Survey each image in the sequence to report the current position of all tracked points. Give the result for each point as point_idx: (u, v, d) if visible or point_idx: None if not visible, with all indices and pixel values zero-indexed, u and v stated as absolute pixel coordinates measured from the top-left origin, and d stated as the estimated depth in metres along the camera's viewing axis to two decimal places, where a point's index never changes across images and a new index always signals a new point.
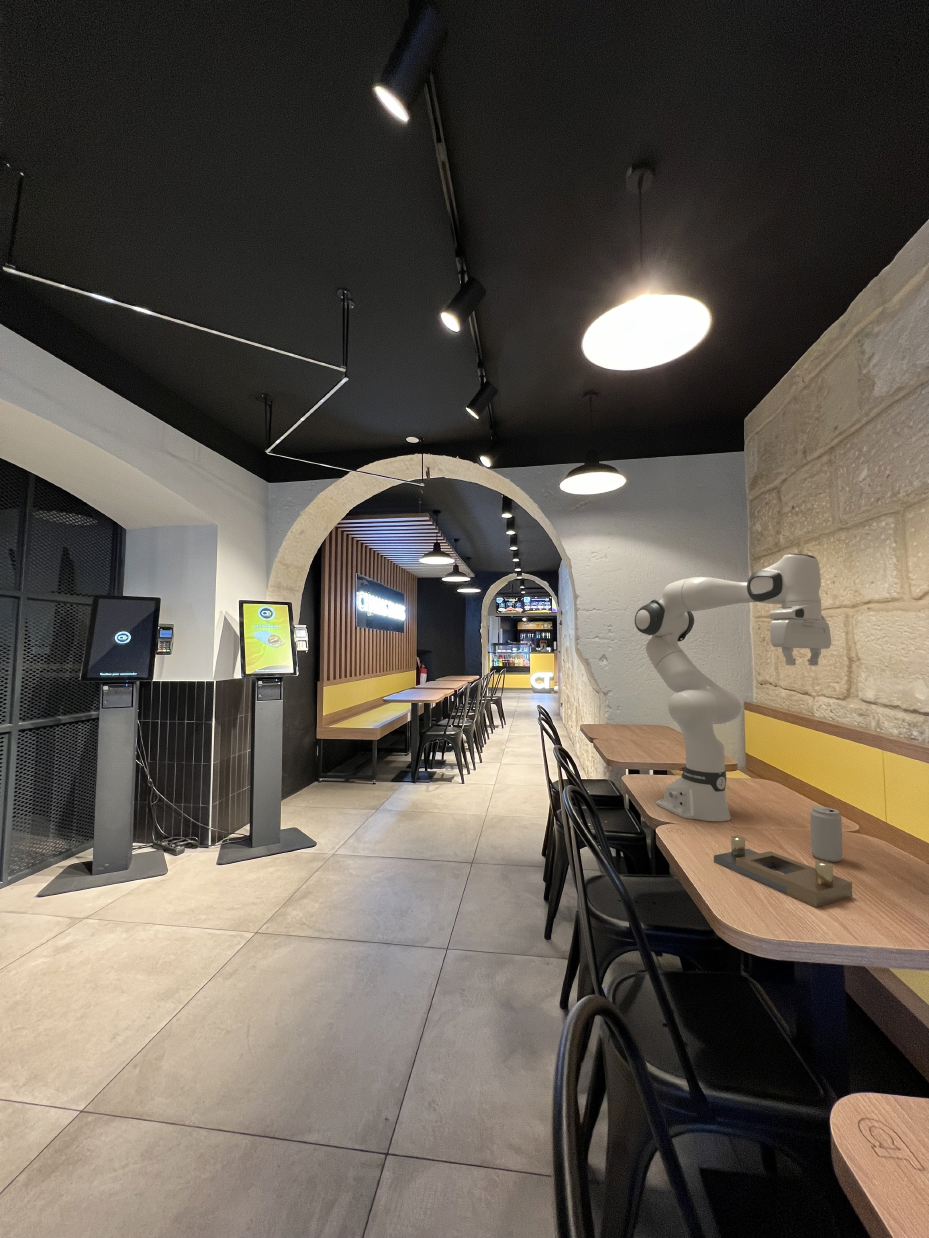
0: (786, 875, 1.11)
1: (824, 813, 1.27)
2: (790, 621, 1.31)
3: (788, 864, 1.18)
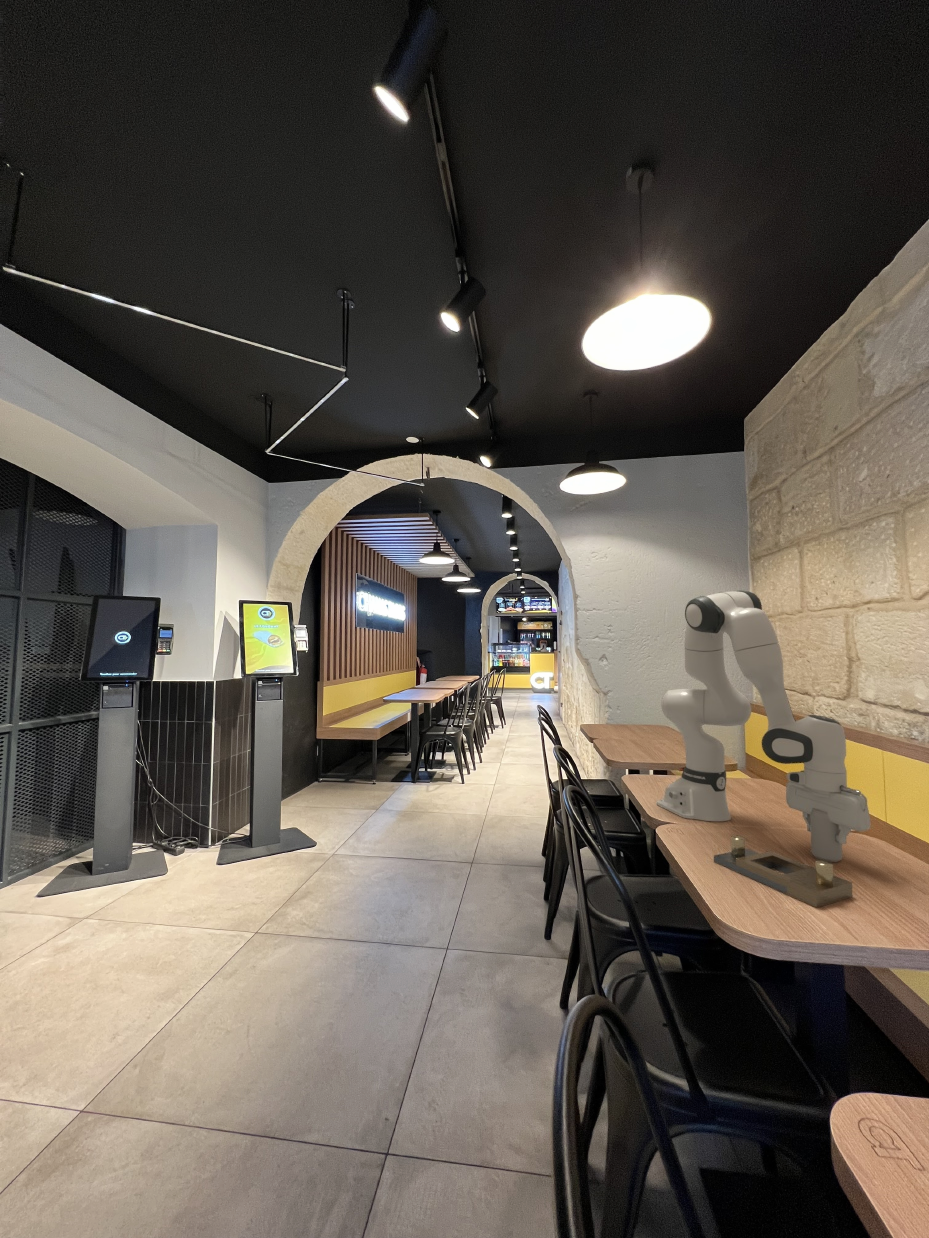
0: (786, 875, 1.11)
1: (824, 813, 1.27)
2: (788, 783, 1.37)
3: (788, 864, 1.18)
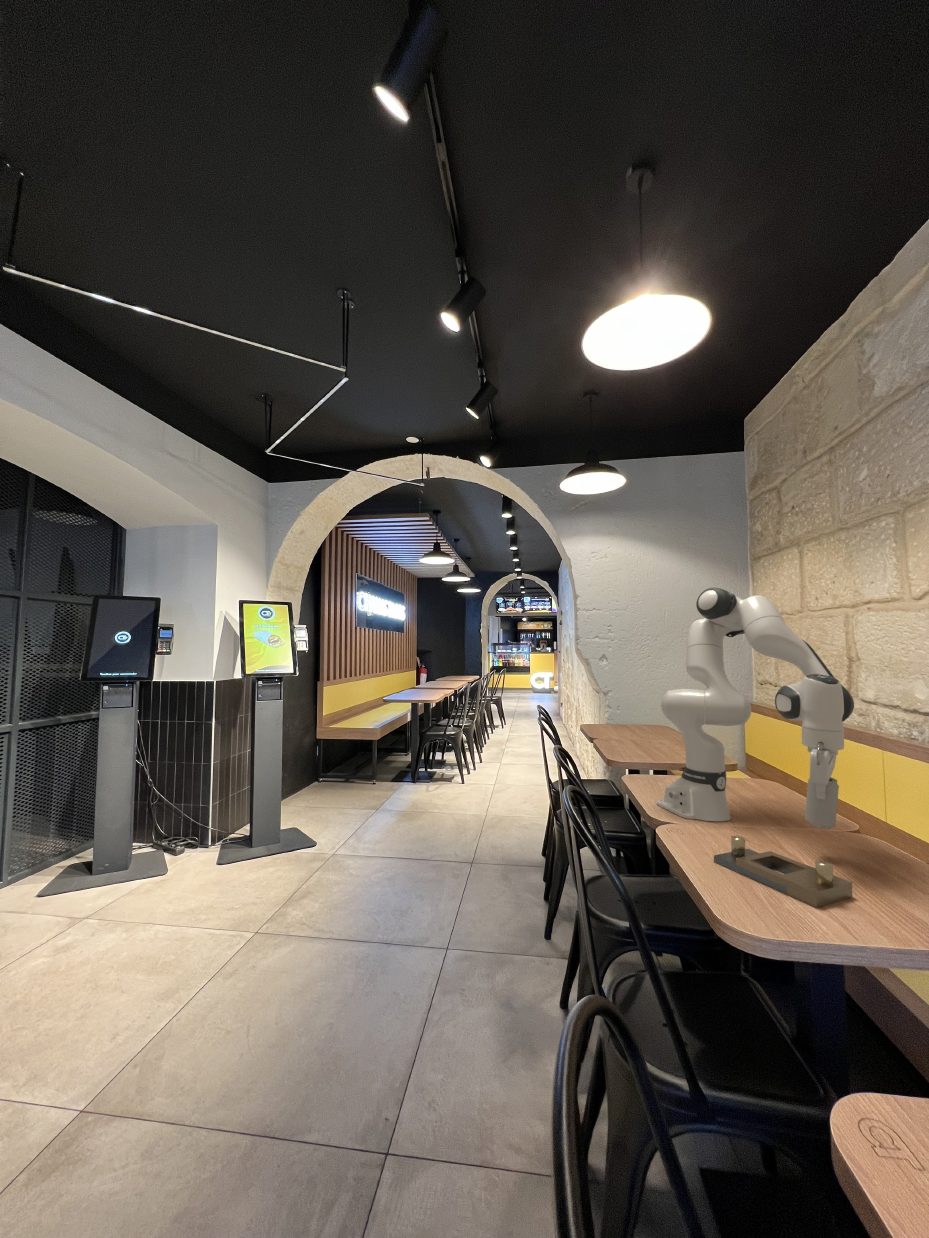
0: (786, 875, 1.11)
1: None
2: None
3: (788, 864, 1.18)
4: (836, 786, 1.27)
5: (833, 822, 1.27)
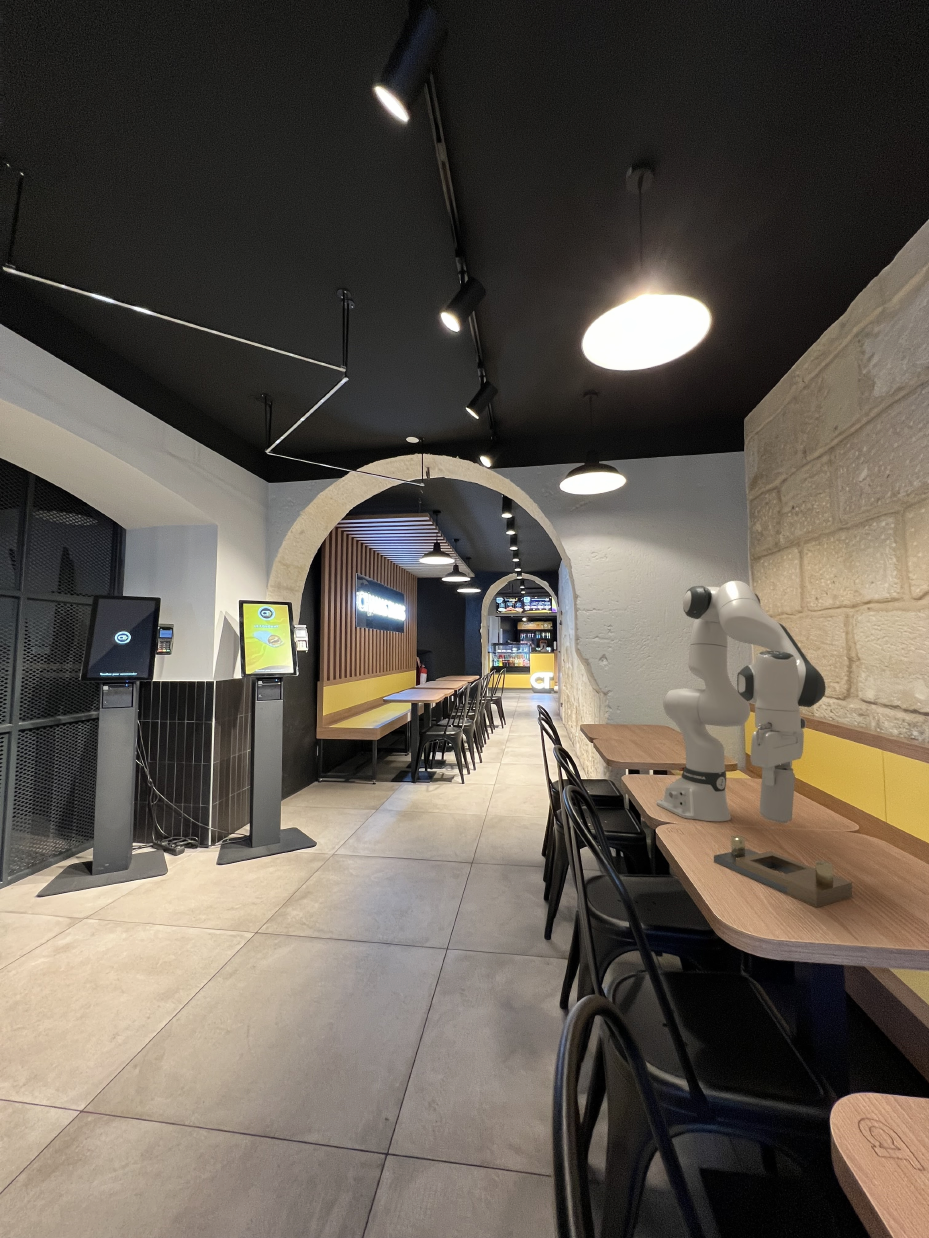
0: (786, 875, 1.11)
1: None
2: None
3: (788, 864, 1.18)
4: (789, 775, 1.15)
5: (786, 816, 1.14)
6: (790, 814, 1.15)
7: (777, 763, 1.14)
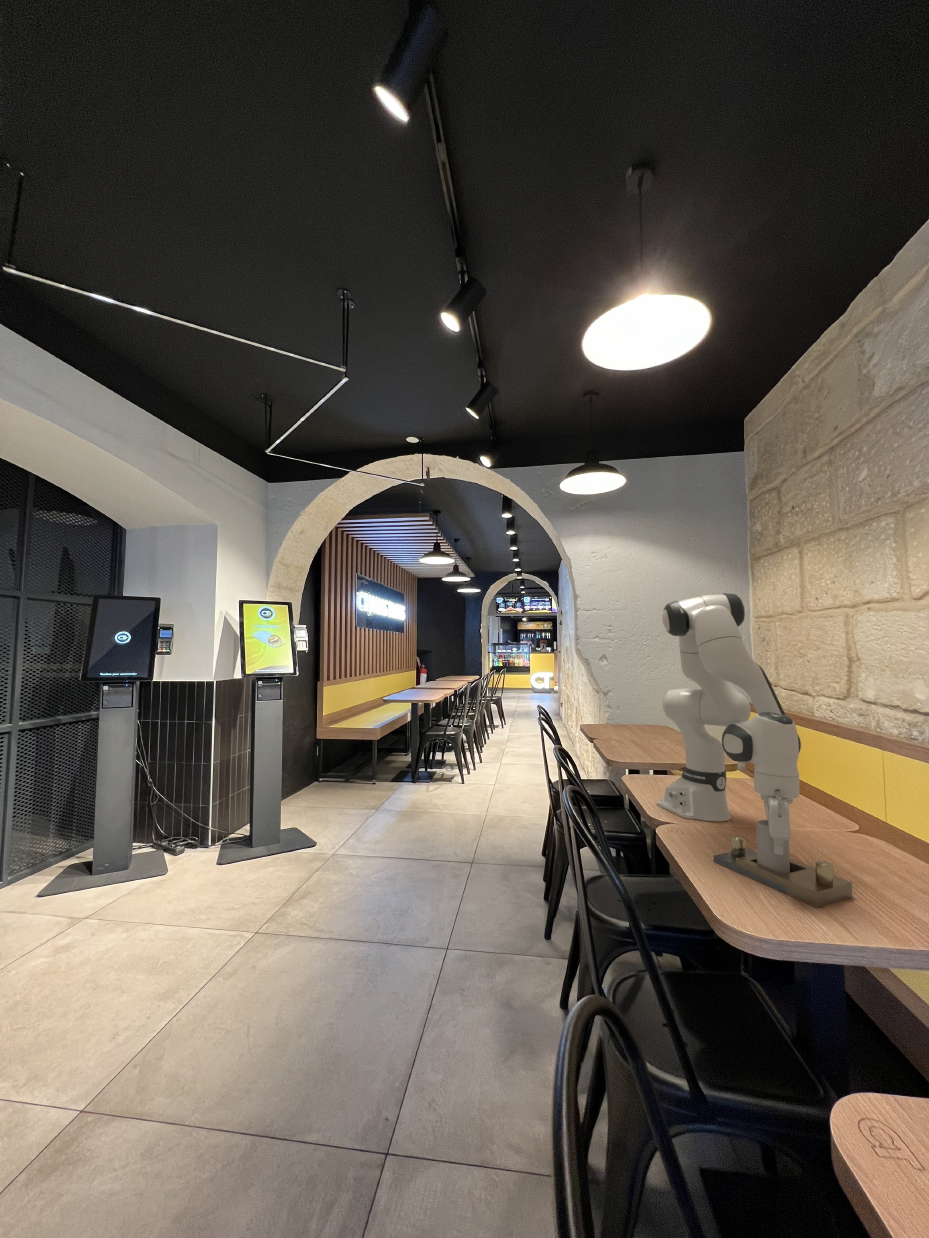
0: (786, 875, 1.11)
1: (761, 825, 1.17)
2: None
3: None
4: None
5: None
6: (789, 871, 1.15)
7: None
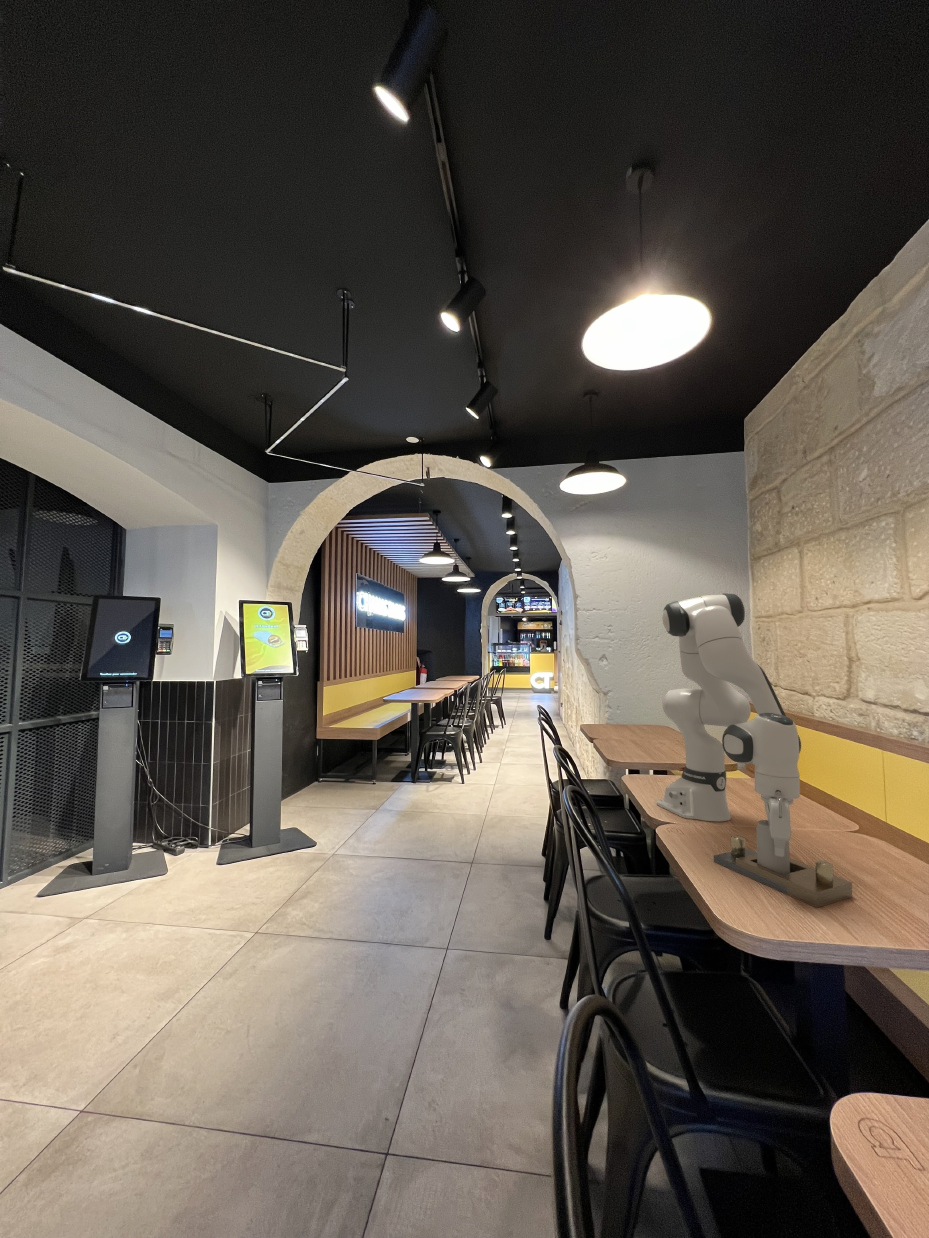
0: (786, 875, 1.11)
1: (761, 825, 1.17)
2: None
3: None
4: None
5: None
6: (789, 871, 1.15)
7: None
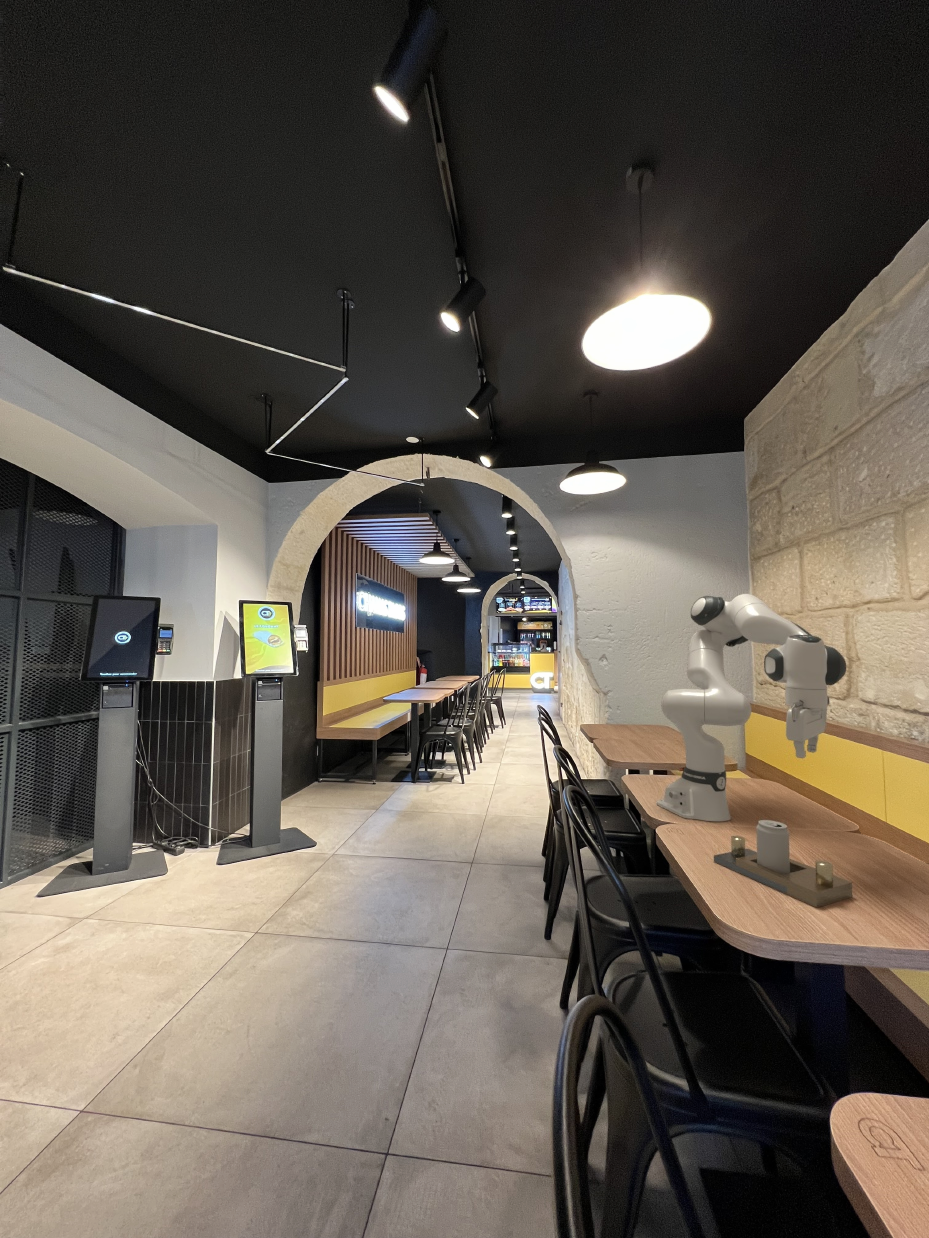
0: (786, 875, 1.11)
1: (761, 825, 1.17)
2: None
3: None
4: (787, 833, 1.15)
5: None
6: (789, 871, 1.15)
7: (809, 737, 1.25)
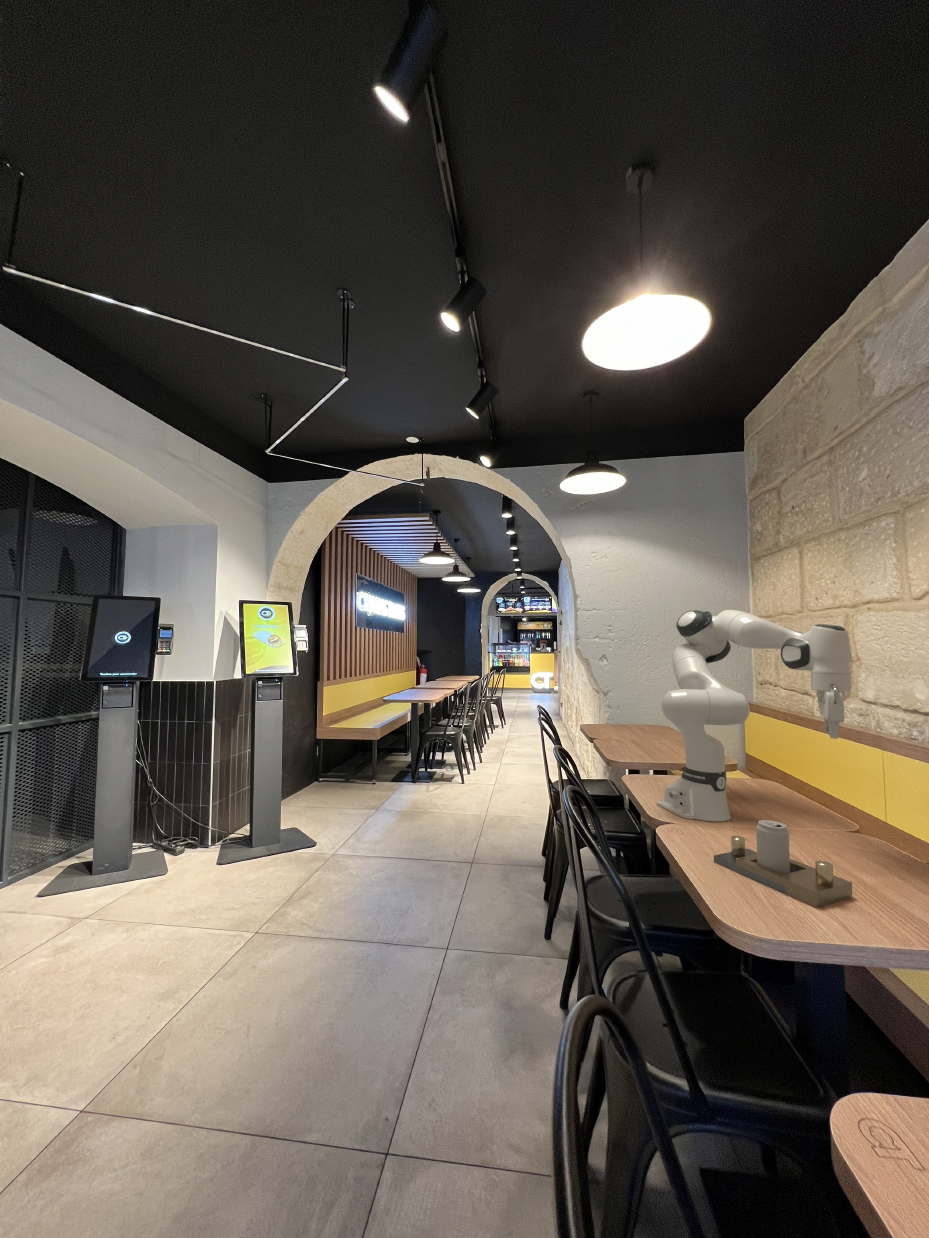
0: (786, 875, 1.11)
1: (761, 825, 1.17)
2: None
3: None
4: (787, 833, 1.15)
5: None
6: (789, 871, 1.15)
7: None
